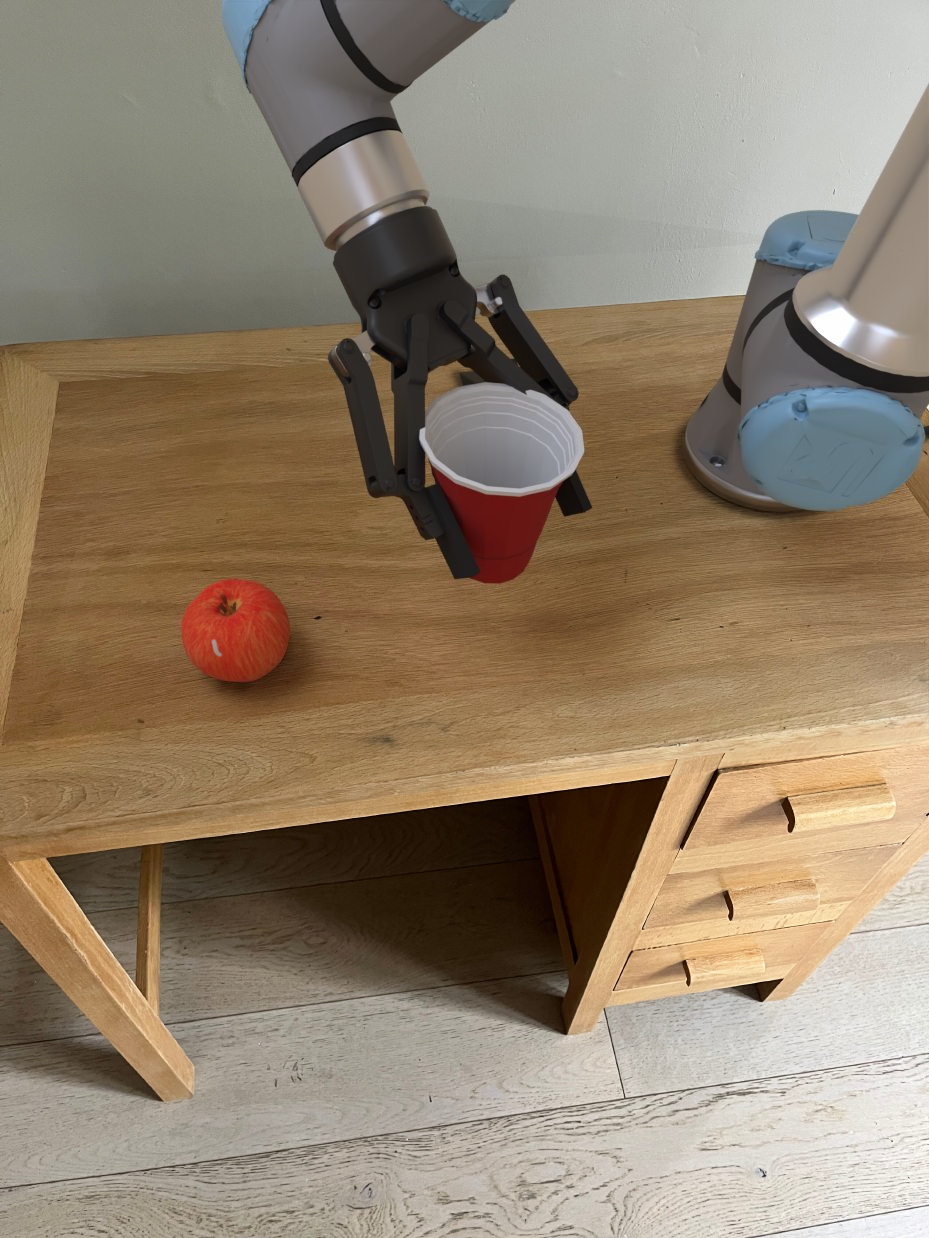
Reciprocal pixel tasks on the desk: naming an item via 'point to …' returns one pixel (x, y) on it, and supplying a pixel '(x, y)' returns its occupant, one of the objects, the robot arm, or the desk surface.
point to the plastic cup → (500, 468)
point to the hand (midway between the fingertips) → (524, 543)
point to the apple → (235, 630)
